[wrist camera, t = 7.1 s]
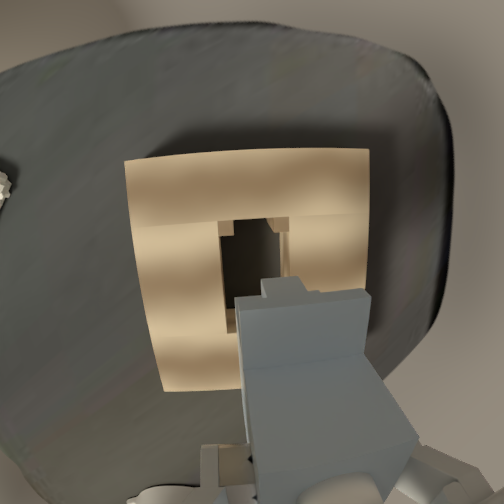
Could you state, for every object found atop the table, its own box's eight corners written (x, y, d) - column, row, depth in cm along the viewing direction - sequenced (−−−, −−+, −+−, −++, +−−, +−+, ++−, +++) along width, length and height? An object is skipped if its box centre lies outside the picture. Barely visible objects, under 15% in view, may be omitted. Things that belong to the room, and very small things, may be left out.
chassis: (340, 348, 29) (354, 373, 25) (170, 363, 28) (164, 391, 24) (347, 149, 23) (369, 149, 20) (140, 160, 22) (124, 161, 19)
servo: (309, 421, 15) (357, 563, 7) (245, 429, 15) (266, 581, 6) (320, 247, 12) (468, 399, 4) (231, 253, 12) (262, 453, 4)
